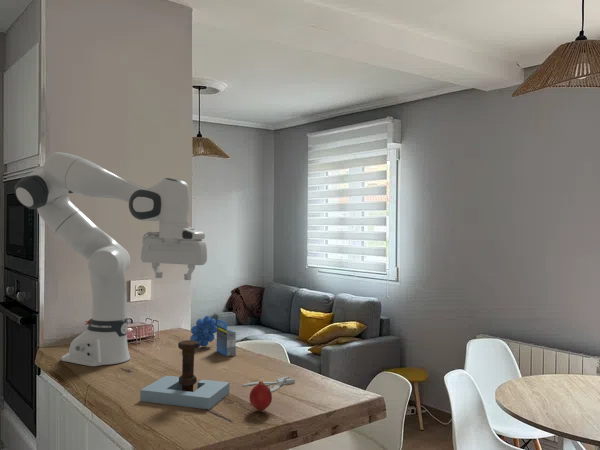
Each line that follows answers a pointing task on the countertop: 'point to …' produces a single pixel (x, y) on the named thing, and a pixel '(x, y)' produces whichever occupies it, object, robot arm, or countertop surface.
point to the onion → (260, 396)
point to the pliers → (279, 383)
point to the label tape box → (225, 339)
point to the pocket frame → (185, 393)
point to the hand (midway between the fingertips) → (173, 279)
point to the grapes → (204, 331)
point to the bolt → (188, 364)
